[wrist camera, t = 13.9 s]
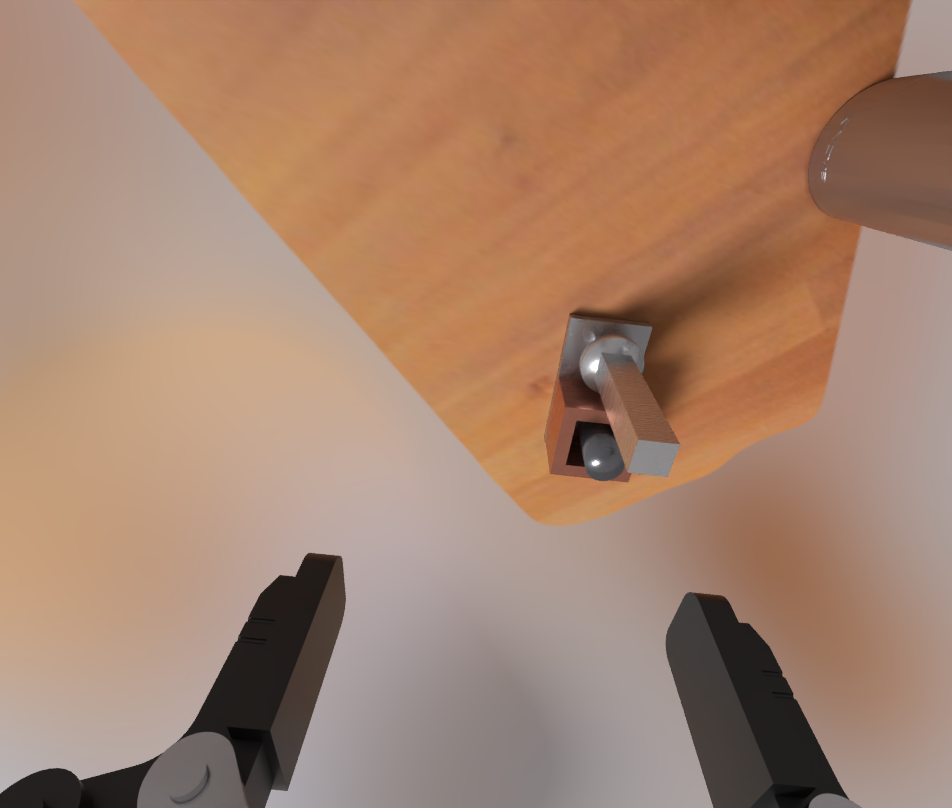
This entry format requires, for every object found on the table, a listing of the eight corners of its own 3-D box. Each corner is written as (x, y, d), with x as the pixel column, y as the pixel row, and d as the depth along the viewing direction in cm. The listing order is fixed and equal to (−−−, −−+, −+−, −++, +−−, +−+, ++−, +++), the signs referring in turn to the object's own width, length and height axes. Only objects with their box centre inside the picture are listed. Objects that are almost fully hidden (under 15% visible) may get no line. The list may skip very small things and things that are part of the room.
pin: (613, 402, 45) (630, 455, 38) (602, 429, 46) (616, 484, 40) (581, 396, 45) (592, 447, 38) (571, 422, 46) (580, 476, 40)
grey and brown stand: (649, 322, 42) (728, 429, 27) (612, 444, 49) (659, 581, 34) (569, 314, 42) (604, 415, 27) (544, 436, 48) (561, 570, 34)
